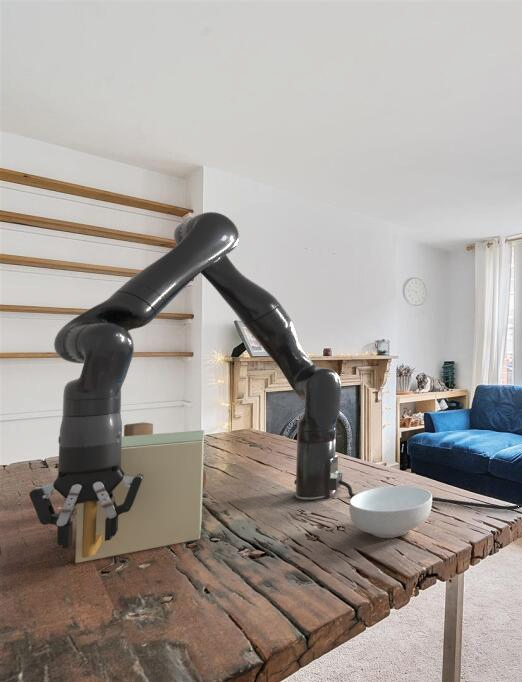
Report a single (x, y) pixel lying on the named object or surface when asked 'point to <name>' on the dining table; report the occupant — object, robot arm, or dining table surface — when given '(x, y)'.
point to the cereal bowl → (390, 510)
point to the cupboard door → (148, 503)
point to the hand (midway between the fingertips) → (88, 542)
